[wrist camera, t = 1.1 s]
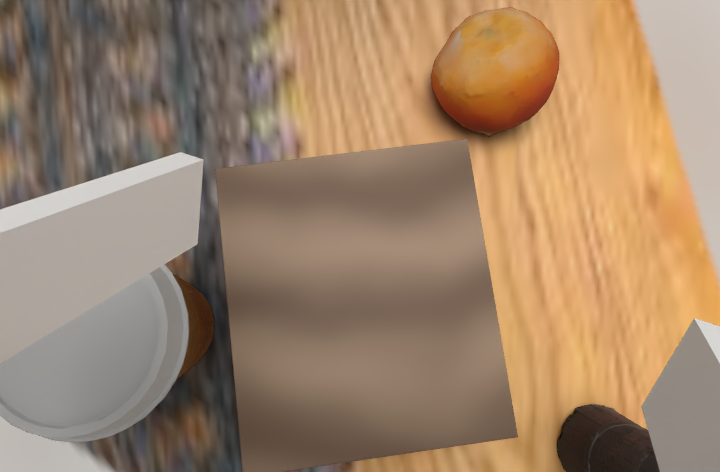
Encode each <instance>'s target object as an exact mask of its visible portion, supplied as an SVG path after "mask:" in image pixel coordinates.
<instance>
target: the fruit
mask: <svg viewBox="0 0 720 472" xmlns="http://www.w3.org/2000/svg"><path fill="white" fill-rule="evenodd" d="M558 71H559V50H558V47H557V44H556V42H555V40H554V37H553V35H552V33H551V32H550V31H549V30H548V29H547V28H546V27H545V25H544V24H543V23H542V22H541V21H540V20H538V19H536V18H535V17H532V16H531V15H530V14H528V13H527V12H523V11H520V10H516V9H514V8H512V7H509V8H502V9H497V10H486V11H483V12H479V13H477V14H475V15H472V16H469V17H467V18H466V19H465V20H464V21H463V22H462V23H461V24H460V25H459V26H458V27H457V28H456V29H455V30H454V31H453V32H452V33H451V35H450V37H449V39H448V40H447V42H446V44H445V46H444V47H443V49H442V50H441V52H440V53H439V55H438V56H437V58H436V60H435V62H434V65H433V70H432V74H431V84H432V88H433V91H434V93H435V95H436V97H437V99H438V101H439V103H440V105H441V106H442V108H443V109H444V110H445V111H446V113H447V114H448V115H449V116H450V117H452V118H453V119H454V120H455V121H456V122H458V123H459V124H460V125H461V126H462V127H465V128H467V129H469V130H471V131H476V132H481V133H484V134H486V135H488V137H489V136H490V135H491V134H495V133H497V132H499V131H503V130H506V129H509V128H512V127H515V126H517V125H519V124H521V123H523V122H525V121H527V120H528V119H530V118H531V117H532V116H534V115H535V114H536V113H537V112H538V111H539V110H540V109H541V107H542V106H543V105H544V104H545V103H546V101H547V100H548V98H549V96H550V94H551V92H552V90H553V87H554V84H555V81H556V78H557V74H558Z"/></svg>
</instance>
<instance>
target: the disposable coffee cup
mask: <svg viewBox="0 0 720 472" xmlns="http://www.w3.org/2000/svg"><path fill="white" fill-rule="evenodd" d="M213 333H214V316H213V312H212V309H211V306H210V304H209V302H208V301H207V299H206V298H205V297H204V295H203V294H202V293H201V292H199V291H198V290H197V289H196V288H195V287H193V286H191V285H189V284H188V283H186V282H185V281H183V280H182V279H180V278H179V277H177V276H176V275H174V274H172V273H171V271H170V269H169V268H168V266H167V265H166V264H164V265H162V266H161V267H159V268H157V269H156V270H154V271H152V272H151V273H149V274H147V275H146V276H144V277H142V278H141V279H139V280H137V281H136V282H134V283H132V284H131V285H129V286H128V287H126V288H124V289H123V290H121V291H119V292H118V293H116V294H114V295H113V296H111V297H109V298H108V299H106V300H104V301H103V302H101V303H99V304H98V305H96V306H94V307H93V308H91V309H89V310H88V311H86V312H84V313H83V314H81V315H79V316H78V317H76V318H75V319H73V320H71V321H70V322H68V323H66V324H65V325H63V326H61V327H60V328H58V329H56V330H55V331H53V332H51V333H50V334H48V335H46V336H45V337H43V338H41V339H40V340H38V341H36V342H35V343H33V344H31V345H30V346H28V347H27V348H25V349H23V350H22V351H20V352H18V353H17V354H15V355H13V356H12V357H10V358H8V359H7V360H5V361H3V362H2V363H0V416H1V417H3V418H4V419H5V420H6V421H8V422H9V423H10V424H11V425H13V426H15V427H17V428H20V429H22V430H24V431H26V432H29V433H32V434H36V435H39V436H42V437H45V438H48V439H51V440H57V441H66V442H86V441H94V440H98V439H102V438H106V437H110V436H112V435H114V434H117V433H119V432H121V431H123V430H126V429H128V428H129V427H131V426H132V425H134V424H135V423H137V422H138V421H140V420H141V419H143V418H144V417H146V416H147V415H148V414H149V413H150V412H151V411H152V410H153V409H154V408H155V407H156V406H157V405H158V404H159V403H160V402H161V401H162V400H163V399H164V398H165V396H166V395H167V393H168V392H169V390H170V389H171V387H172V386H173V384H174V383H175V381H176V380H177V379H178V378H179V377H180V376H182V375H183V374H184V373H185V372H186V371H187V370H188V369H190V368H191V367H192V366H193V365H194V364H196V363H197V362H198V361H199V360H200V359H201V358H202V357H203V355H204V354H205V353H206V351H207V350H208V348H209V346H210V344H211V341H212V338H213Z"/></svg>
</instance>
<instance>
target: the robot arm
mask: <svg viewBox="0 0 720 472" xmlns="http://www.w3.org/2000/svg"><path fill="white" fill-rule="evenodd" d="M202 173H203V159H200V158H197V157H194V156H191V155H188V154H184V153H181V152H180V153H177V154H174V155H170V156H167V157H164V158H161V159H158V160H155V161H151V162H148V163H145V164H142V165H139V166H136V167H133V168H129V169H126V170H123V171H120V172H117V173H114V174H110V175H107V176H104V177H101V178H98V179H95V180H92V181H88V182H85V183H82V184H79V185H76V186H73V187H70V188H66V189H63V190H60V191H57V192H54V193H51V194H47V195H44V196H41V197H38V198H35V199H32V200H29V201H25V202H22V203H19V204H16V205H13V206H9V207H6V208H3V209H0V363H2V362H3V361H5V360H7V359H8V358H10V357H12V356H13V355H15V354H17V353H18V352H20V351H22V350H23V349H25V348H27V347H28V346H30V345H31V344H33V343H35V342H36V341H38V340H40V339H41V338H43V337H45V336H46V335H48V334H50V333H51V332H53V331H55V330H56V329H58V328H60V327H61V326H63V325H65V324H66V323H68V322H70V321H71V320H73V319H75V318H76V317H78V316H79V315H81V314H83V313H84V312H86V311H88V310H89V309H91V308H93V307H94V306H96V305H98V304H99V303H101V302H103V301H104V300H106V299H108V298H109V297H111V296H113V295H114V294H116V293H118V292H119V291H121V290H123V289H124V288H126V287H128V286H129V285H131V284H132V283H134V282H136V281H137V280H139V279H141V278H142V277H144V276H146V275H147V274H149V273H151V272H152V271H154V270H156V269H157V268H159V267H161V266H162V265H164V264H166V263H167V262H169V261H171V260H172V259H174V258H176V257H177V256H179V255H180V254H182V253H184V252H185V251H187V250H189V249H190V248H192V247H194V246H195V245H197V244H198V230H199V216H200V202H201V187H202ZM642 410H643V414H644V417H645V421H646V424H647V428H648V431H649V435H650V438H651V442H652V445H653V449H654V452H655V456H656V459H657V463H658V467H659V470H660V472H720V326H717V325H713V324H710V323H707V322H704V321H701V320H698V319H695V318H694V320H693V321H692V323H691V325H690V326H689V328H688V330H687V331H686V333H685V335H684V336H683V338H682V340H681V341H680V343H679V345H678V346H677V348H676V350H675V351H674V353H673V355H672V356H671V358H670V360H669V361H668V363H667V365H666V366H665V368H664V370H663V371H662V373H661V375H660V376H659V378H658V380H657V381H656V383H655V385H654V386H653V388H652V390H651V391H650V393H649V395H648V397H647V398H646V400H645V402H644V403H643V405H642Z"/></svg>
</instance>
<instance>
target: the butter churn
mask: <svg viewBox="0 0 720 472" xmlns="http://www.w3.org/2000/svg"><path fill="white" fill-rule="evenodd" d="M557 448H558V451H557V452H558V455H559V458H560V460H561V462H562V465H563V468H564V469H565V471H566V472H660V470H659V467H658V463H657V459H656V456H655V452H654V449H653V445H652V442H651V438H650V435H649V431H648V430H647V429H644V428H642V427H641V426H639V425H638V424H636V423H634V422H632V421H631V420H629V419H627V418H626V417H624V416H622V415H621V414H619V413H618V412H616V411H615V410H614V409H611V408H608V407H605V406H603V405H602V406H600V405H596V404H595V405H586V406H583V407H577V408H575V414H574V415H573V414H571V415H570V416H569V418H568V419H567V421H566V422H565V423H564V425H563V432H562V434H561V435H560V437H559V439H558V442H557Z"/></svg>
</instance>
